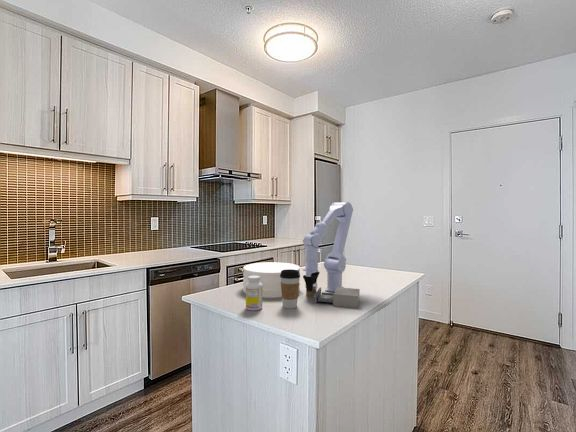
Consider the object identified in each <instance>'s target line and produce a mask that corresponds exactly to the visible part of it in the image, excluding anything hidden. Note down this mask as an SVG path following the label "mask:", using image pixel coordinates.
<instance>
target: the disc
mask: <svg viewBox="0 0 576 432" xmlns="http://www.w3.org/2000/svg"><path fill="white" fill-rule="evenodd" d="M313 289H316V290H317V289H318V283H317V282H316V283H315V282H314V283H313Z"/></svg>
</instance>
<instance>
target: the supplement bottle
mask: <svg viewBox="0 0 576 432" xmlns="http://www.w3.org/2000/svg"><path fill="white" fill-rule="evenodd" d="M248 280H249V282H248V283H247V284H246V293H245V308H246V310H248V311H254V312H255V311H260V310H261V309H262V308H263V297H262V283H260V282H259V280H260V276H249V277H248Z"/></svg>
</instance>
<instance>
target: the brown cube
mask: <svg viewBox="0 0 576 432" xmlns="http://www.w3.org/2000/svg"><path fill="white" fill-rule="evenodd" d="M305 292H306V293H305V294H306V296H305V297H311V298H312V297H313V298H315V297H314V295H315V293H316V292H317V289H312V291H307V288H306V287H305Z"/></svg>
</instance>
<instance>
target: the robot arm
mask: <svg viewBox="0 0 576 432" xmlns="http://www.w3.org/2000/svg"><path fill="white" fill-rule="evenodd" d="M353 211H354V207H353V205H352V203H351V202H349V201H345V202H342V201H341V202H337V201H336V202H332V203H331V205H330V206H329V210H328V212H327V213H326V215H325V217H324V218H323V219H322V221H321V222H320V221H319V222H316V224H315V226H314V227H313V228H312V230H310V232H309V233H308V234H306V235H305V236H304V237H303V240H302V243H303V245H304V250H305V268H302V271H303V272H305V274H303V275H302V277H303V280H304V282H305V289H306V288H307V291H312V289H313V283H314V282H315V283H317V282H318V277H319V274H320V271H319V268H318V266H319V259H318V258H319V246H320V245H321V244H322V238H323V237H324V236H325V234H326V233H327V232H328V230H329V229H328V228H329V227H328V226H329V225H330V224H331V223H332V222H333V221H334V220H335V219H336V220H338V226H337V230H336V234H335V238H334V243H333V246H332V249H331V252H329V253H328V254H327V256H326V258H325V259H324V262H323V266H324V269H325V270H326V273H327V275H326V277H327V280H326V281H327V283H326V285H327V287H326V288H325V291H326V292H335V290H336V288H337V287H340V288H345V287H344V286H343V281H342V280H343V273H344V272H345V270H346V266H347V265H346V264H347V263H346V261H347V258H346V257H345V255H344V250H345V246H346V242H347V237H348V234H349V229H350V226H351V223H352V222H351V219H352V215H353Z"/></svg>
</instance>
